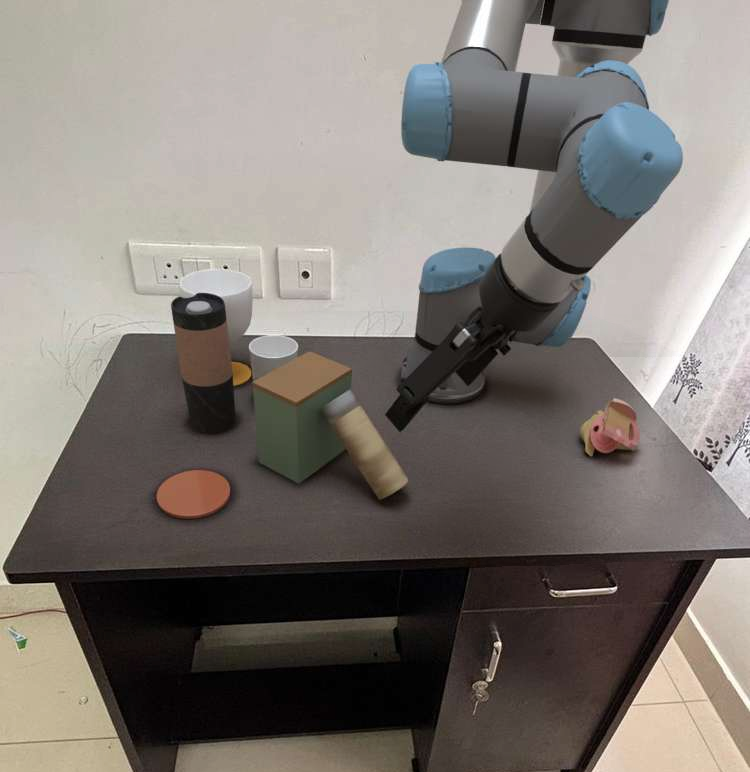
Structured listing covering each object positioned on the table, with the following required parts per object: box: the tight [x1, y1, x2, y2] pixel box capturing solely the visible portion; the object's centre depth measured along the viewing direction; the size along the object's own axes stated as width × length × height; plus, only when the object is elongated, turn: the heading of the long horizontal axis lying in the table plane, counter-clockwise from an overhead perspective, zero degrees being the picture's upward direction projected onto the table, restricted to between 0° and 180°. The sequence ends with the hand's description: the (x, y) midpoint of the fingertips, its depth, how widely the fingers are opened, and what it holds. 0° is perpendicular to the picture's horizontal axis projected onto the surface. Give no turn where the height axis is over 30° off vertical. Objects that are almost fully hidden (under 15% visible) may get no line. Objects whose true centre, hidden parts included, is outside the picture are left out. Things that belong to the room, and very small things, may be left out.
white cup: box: [248, 334, 299, 382], centre depth 106 cm, size 8×8×10 cm
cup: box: [178, 268, 254, 387], centre depth 109 cm, size 12×12×17 cm
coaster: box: [156, 469, 231, 520], centre depth 88 cm, size 10×10×1 cm
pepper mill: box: [320, 388, 409, 500], centre depth 88 cm, size 14×5×14 cm, turn 54°
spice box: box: [251, 351, 353, 484], centre depth 93 cm, size 8×12×14 cm, turn 144°
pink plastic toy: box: [579, 397, 640, 457], centre depth 101 cm, size 9×10×10 cm
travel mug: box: [170, 293, 236, 434], centre depth 96 cm, size 8×8×20 cm
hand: (429, 398), depth 78 cm, fingers open, 13 cm apart
